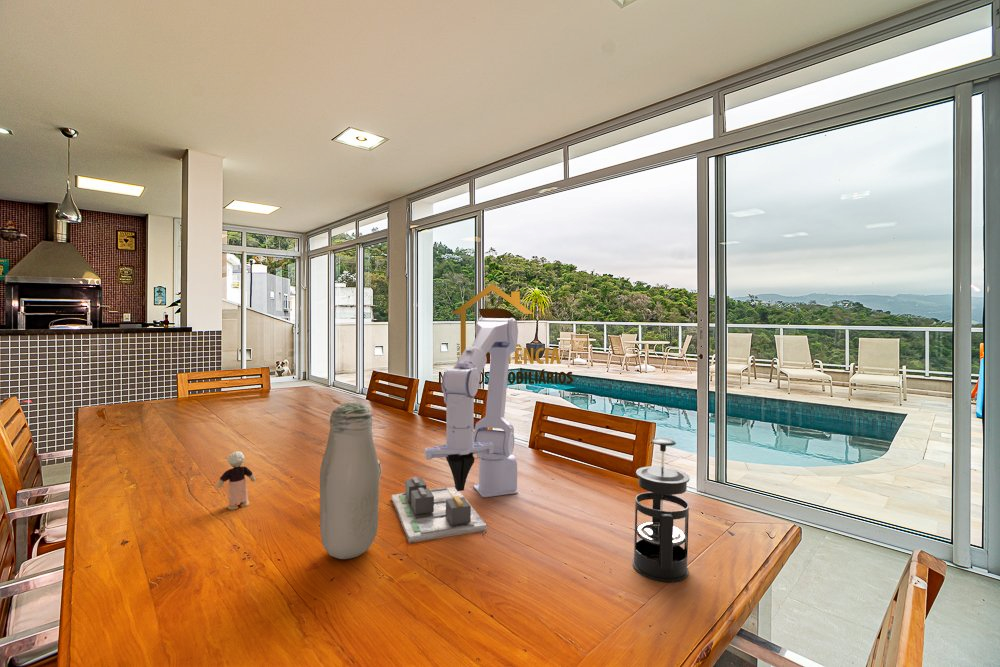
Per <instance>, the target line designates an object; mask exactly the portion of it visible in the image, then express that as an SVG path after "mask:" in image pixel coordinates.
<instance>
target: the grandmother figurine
mask: <svg viewBox="0 0 1000 667" xmlns="http://www.w3.org/2000/svg"><path fill="white" fill-rule="evenodd" d="M244 461H245V455H244V454H243V452H242V451H239V450H238V451H234V452H232V453H230V454H229V456H228V458H227V462H228V464H229V465H230V466H231V467H232V468H230V469H228V470H226V471H224V473H222V475H221V476H220V478H219V481H218V483H217V485H216V487H217V488H219V489H221V488H222V487H223V485H224V483H225V482H227V481H228V484H227V485H228V488H227V489H228V495H227V496H228V505H227V509H229V510H231V511H233V510H237V509H238V508H239V506H240V507H241V508H243V507H244V508H245V507H248V506H249V505H250V501H249V499H248V486H247V481H246V480H247V479H246V478H245V476H246V477H248V479H249V480H250V481H251V482H253V483H254V482H255V481H256V480H257V479H256V477H255V476H254V474H253V471H251V470H250V469H249V467H247V466H242V465H243V462H244ZM238 504H239V506H238Z"/></svg>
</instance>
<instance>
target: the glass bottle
mask: <svg viewBox="0 0 1000 667" xmlns="http://www.w3.org/2000/svg"><path fill="white" fill-rule="evenodd" d="M330 414H331V415H330V418H329V428H330V429H329V434H328V437H327V444H326V447H325V450H324V454H323V456H322V460H321V465H320V471H319V527H320V529H319V530H320V531H319V532H320V539H321V544H322V547H323V548H324V550H325V551H326V552H327V553H328V554H329V556H331V557H334V558H335V559H338V560H349V559H353V558H355V557H359V556H360V555H362V554H364V553H365V552H366V551H368V549H369V548H371V546H372V545H373V542H374V541H375V539H376V536H377V532H378V528H379V498H380V479H379V463H378V460H379V459H378V454H377V451H376V447H375V443H374V439H373V416H372V413H371V410H370V409H369V407H368V406H366V405H365V404H363V403H361V402H347V403H342V404H341V405H338V406H337V407H335V408H334V409H333V410H332V411H331V413H330Z"/></svg>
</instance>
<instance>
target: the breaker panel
mask: <svg viewBox="0 0 1000 667" xmlns="http://www.w3.org/2000/svg"><path fill="white" fill-rule="evenodd" d="M428 489H429V490H430V491H431V493H432V494H433V496H434V512H432V513H425V514H418V515H415V513H414V511H413V509H412V507H411V502H409V501H408V499H407V497H406V495H405V491H404V492H402V493H396V494H391V501H393V502H392V504H393V507H394V506H395V507H394V509H395V512H396V514H397V517H398V519H399V522H400V521H401V522H400V524H401V526H402V529H403V531H404V533H405V537H406V539H407V542H408V544H410V543H411V542H412V543H418V542H424V541H429V540H430V541H431V540H437V539H442V538H449V537H455V536H460V535H461V536H462V535H468V534H474V533H479V532H486V531H487V523H485V521H484V520H483V518H481V516H480V515H479V514H478V512H477V511H476V510H475V509H474V507H473V506H472V505H471V504H470V502H469V501H468V500H467V499H466V501H467V502H468V503H469V504H470V506H471V522H470V523H464V524H457V525H451V523H450V522H449V520H448V518H447V517H446V499H453V497H455V496H458V497H459V498H461V497H464V495H463V493H462V492H461V491H457V490H456V488H455V486H452V487H451V486H450V487H437V488H428ZM464 498H465V497H464Z"/></svg>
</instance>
